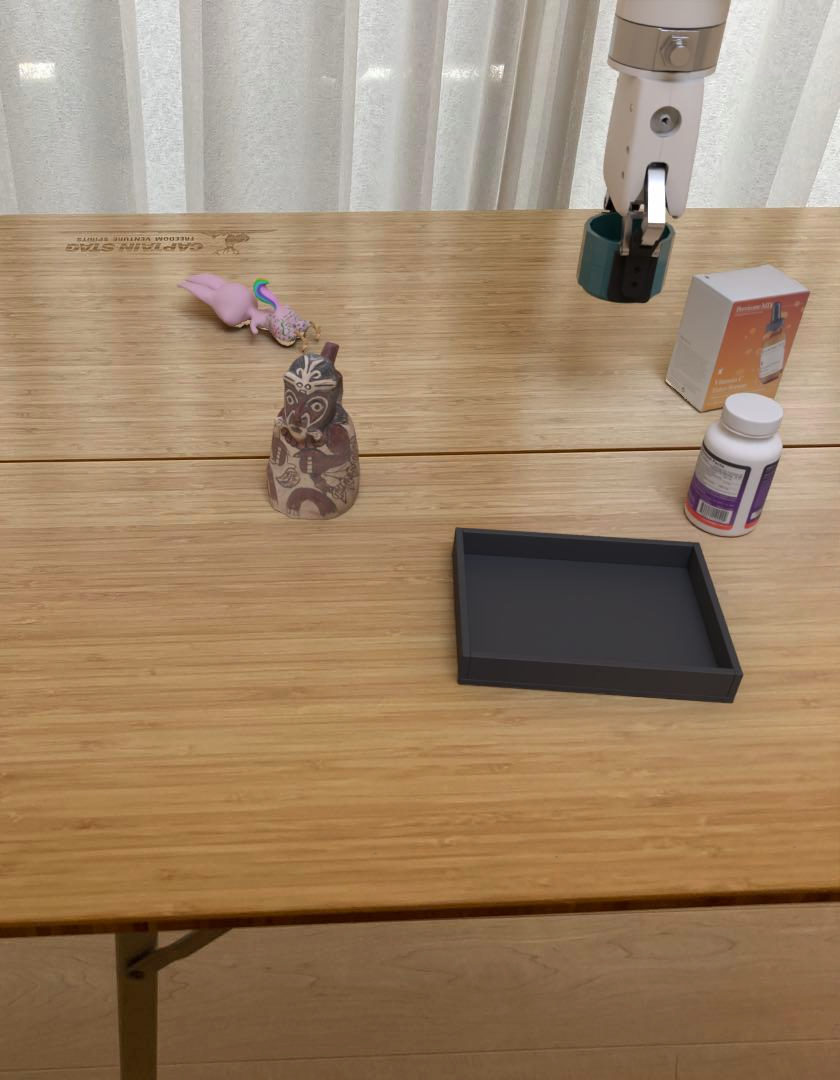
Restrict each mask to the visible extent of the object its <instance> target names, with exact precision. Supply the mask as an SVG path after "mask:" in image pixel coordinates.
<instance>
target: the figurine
mask: <svg viewBox="0 0 840 1080" xmlns="http://www.w3.org/2000/svg"><path fill="white" fill-rule="evenodd" d="M339 349H340V345H339V344H338V343H336V342H333V341H331V340H327V341H325V343H324V346H323V347H322V349H321V352H320V354H318V353H313V352H306V353H303V354H302V355H300V356H299V357H297V358H296V359H294V361H293V362H292V363H291V365H290V366H289V368H288V370H286V371H285V372H284V373H283V374H282V381H283V384H284V385H283V387H284V388H283V389H284V390H283V391H284V393H283V407H281V409H280V411H279V412H278V414H277V416H276V417H275V419H274V422H273V423H274V425H273V428H272V434H271V435H272V437H271V445H270V451H269V452H270V453H269V458H268V462H267V465H266V476H267V479H266V481H267V489H268V494H269V503H270V504H271V506H272V508H273V509H274V510H275V511H278V512H280V513H282V514H284V515H285V516H287V517H290V518H292V519H301V520H310V521H311V520H319V521H321V520H331V519H334V518H337V517H339V516H341V515H342V514H344V513H346V512H347V511H348V510H350V509H351V507H352V505H353V504H354V503H355V501H356V498H357V495H358V493H359V489H360V480H361V479H360V478H361V466H360V465H361V464H360V454H359V453H360V452H359V443H358V440H357V433H356V428H355V425H354V422H353V420H352V419H353V418H352V417H351V416H350V414H349V413H348V411H347V410H346V409H345V408H344V407H343V397H344V376H343V375H342V373H341V371H339V370H338V369H337V368H336V367H335V362H336V359H337V356H338V353H339Z"/></svg>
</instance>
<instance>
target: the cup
mask: <svg viewBox="0 0 840 1080" xmlns="http://www.w3.org/2000/svg"><path fill="white" fill-rule="evenodd" d="M605 212H606V213H601V212H600V213H597V214H595V215H592V216H590V217H588V218H587V220H586V221H585V222H584V224H583V231H582V238H581V243H580V248H579V255H578V263H577V268H576V274H575V278H576V282H577V284H578V285H579V286H580V287H581V288H582V289H583V291H584V292H585V293H587V294H588V295H589V296H591V297H594V298H595V299H598V300H601V301H605V302H609V303H611V302H610V301H609V300H608V298H607V291H608V285H609V280H610V274H611V269H612V264H613V258H614V253H615V250H617V251H620V240H621V229H622V218H623V217H622V216H621V215H620V214H619V213H618V212H617V211H613V212H610V211H605ZM642 222H643V221H632V231H631V236H632V235H633V233H634V231H635V230H636V228H641V224H642ZM676 235H677V234H676V231H675V229H674V226H673V225H671V224H670V223H668V222H667V221H666V220H665V228H664V231H663V233H662V236H661V237H662V241H661V245H660V253H659V257H658V262H657V267H656V272H655V276H654V281H653V286H652V291H651V295H650V299H649V300H651V299H652V298H654V297H656V296H657V295H659V294H661V292H662V290H663V289H664V287H665V284H666V279H667V274H668V270H669V265H670V261H671V257H672V252H673V248H674V243H675V238H676ZM613 303H614V304H621V303H620V302H613ZM624 304H629V305H630V303H624Z"/></svg>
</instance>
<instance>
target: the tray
mask: <svg viewBox="0 0 840 1080" xmlns="http://www.w3.org/2000/svg"><path fill="white" fill-rule="evenodd" d="M707 564H708V563H707V561H706V558H705V555H704V552H703V548H702V546H701V542H698V541H684V540H667V539H652V538H637V537H636V538H635V537H620V536H619V537H618V536H604V535H602V536H601V535H588V534H573V533H556V532H541V531H539V532H538V531H524V530H510V529H509V530H508V529H493V528H492V529H491V528H476V527H462V526H461V527H460V526H459V527H458V526H455V528H454V535H453V541H452V549H451V565H452V584H453V585H452V587H453V588H452V589H453V605H454V606H453V607H454V609H453V610H454V627H455V645H456V646H455V648H456V665H457V684H458V685H465V686H479V687H481V686H482V687H497V688H508V689H509V688H510V689H523V690H524V689H525V690H537V691H538V690H541V691H554V692H566V693H567V692H568V693H583V694H596V695H610V696H624V697H625V696H626V697H639V698H640V697H641V698H653V699H654V698H656V699H669V700H671V699H672V700H682V701H683V700H685V701H697V702H698V701H699V702H711V703H726V704H727V703H728V704H733V703H734V701H735V698H736V695H737V693H738V691H739V687H740V685H741V683H742V680H743V677H744V672H743V670H742V667H741V663H740V661H739V658H738V654H737V652H736V648H735V645H734V642H733V640H732V637H731V633H730V630H729V627H728V625H727V621H726V618H725V615H724V612H723V609H722V606H721V603H720V600H719V597H718V594H717V591H716V588H715V585H714V582H713V579H712V576H711V573H710V571H709V567H708V565H707Z"/></svg>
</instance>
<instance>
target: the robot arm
mask: <svg viewBox="0 0 840 1080" xmlns="http://www.w3.org/2000/svg"><path fill="white" fill-rule="evenodd" d="M731 3H732V0H616V5H615V10H614V17H613V23H612V29H611V36H610V42H609V47H608V48H609V49H608V54H607V59H606V63H607V66H609V68H611V69H612V70H614V71H616V72H618V77H617V79H616V86H615V91H614V95H613V103H612V106H611V111H610V117H609V122H608V129H607V134H606V141H605V148H604V154H603V163H602V164H603V167H602V176H603V180H604V183H605V187H606V191H605V194H604V198H603V207H602V208H603V211H601V212H600V213H606V212H613V211H617V212H618V213H619V214H620V215H621V216H622V217H623V218H622V229H621V240H620V251H617V250H615V253H614V258H613V264H612V269H611V274H610V280H609V285H608V291H607V298H608V300H609V301H610V302H609V303H614V302H620V303H619V304H625V303H629V304H646V303H648V302H649V301H650V300H651V299H650V295H651V291H652V286H653V281H654V276H655V272H656V267H657V262H658V257H659V253H660V245H661V241H662V237H661V236H662V233H663V231H664V228H665V221H666V211H667V213H668V216H669V217H671V218H672V219H673V220H678V219H680V218H682V217H683V215H684V214H685V212H686V208H687V203H688V198H689V192H690V186H691V181H692V175H693V170H694V164H695V158H696V152H697V146H698V140H699V134H700V128H701V120H702V111H703V104H704V93H705V92H704V91H705V78H707V77H710V76H712V75H713V74H715V73H716V71H717V66H718V61H719V58H720V53H721V48H722V44H723V39H724V34H725V30H726V25H727V19H728V16H729V12H730V7H731ZM642 205H643V211H642V210H641V211H640V209H641V206H642ZM632 221H643V222H642V224H641V228H636V230H635V231H634V233H633V235H632V236H631V231H632Z"/></svg>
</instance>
